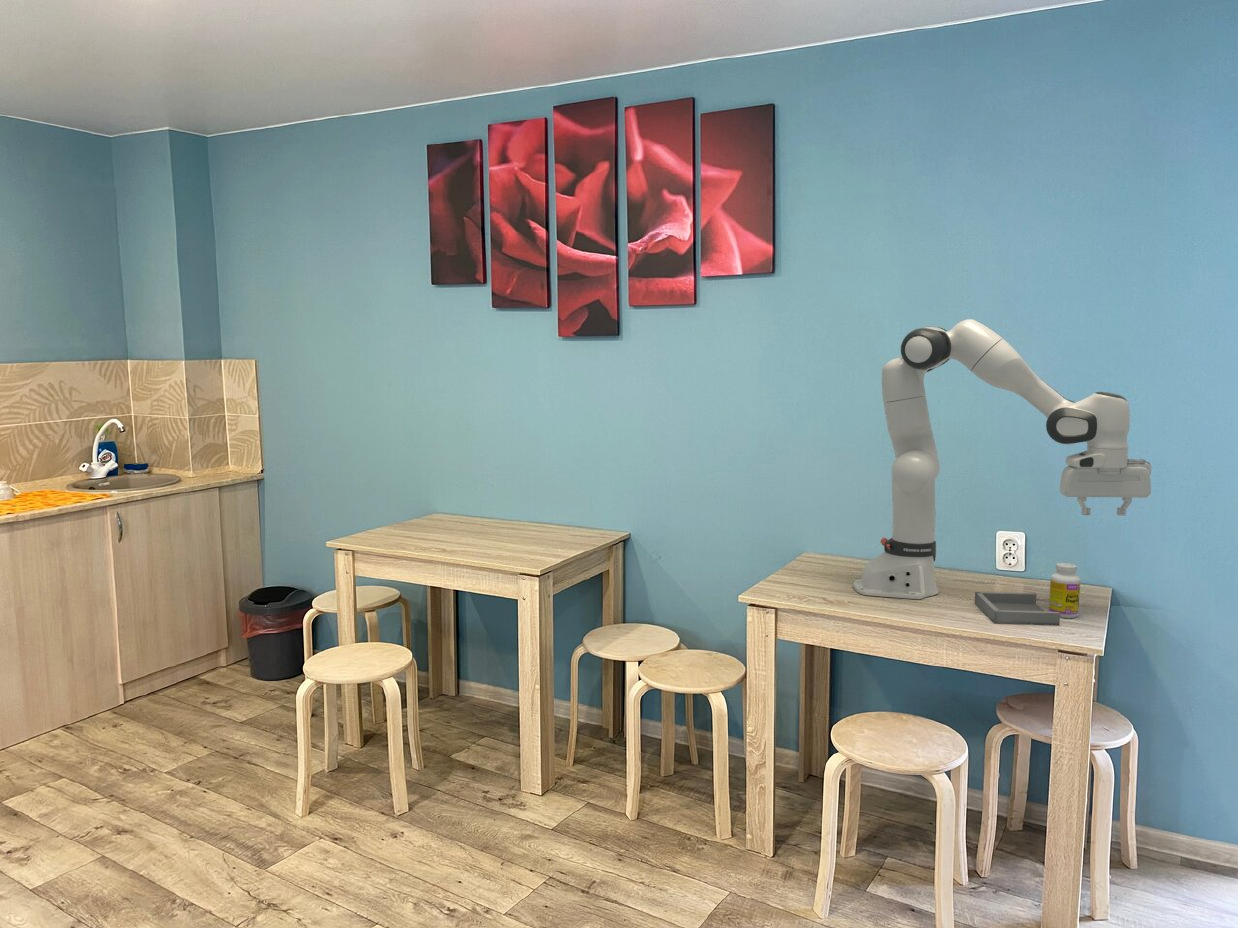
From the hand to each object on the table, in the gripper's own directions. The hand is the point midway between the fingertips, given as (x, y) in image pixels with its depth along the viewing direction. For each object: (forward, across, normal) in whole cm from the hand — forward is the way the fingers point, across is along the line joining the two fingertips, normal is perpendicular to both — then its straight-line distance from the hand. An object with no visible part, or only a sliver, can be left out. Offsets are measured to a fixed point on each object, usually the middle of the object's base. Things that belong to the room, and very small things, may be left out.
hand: (1103, 515), depth 228 cm
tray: (+25, +20, 0) cm, 32 cm away
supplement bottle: (+26, +8, 0) cm, 27 cm away
